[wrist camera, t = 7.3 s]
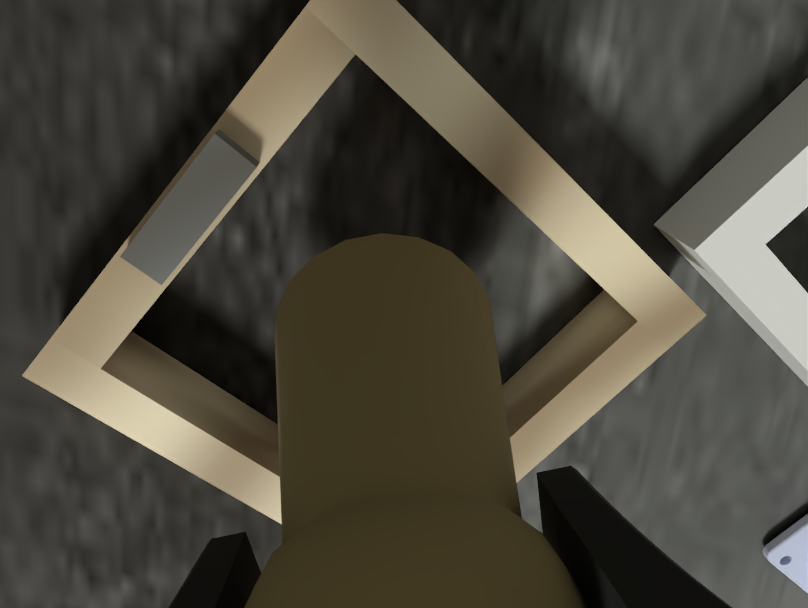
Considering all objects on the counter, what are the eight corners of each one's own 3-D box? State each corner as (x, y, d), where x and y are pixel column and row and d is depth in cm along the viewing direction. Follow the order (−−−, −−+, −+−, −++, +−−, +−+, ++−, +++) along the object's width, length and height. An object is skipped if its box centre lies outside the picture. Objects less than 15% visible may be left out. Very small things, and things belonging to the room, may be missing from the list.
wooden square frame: (666, 283, 21) (717, 323, 18) (390, 536, 24) (397, 604, 21) (346, -38, 16) (348, -53, 13) (59, 334, 19) (11, 387, 16)
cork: (353, 188, 15) (353, 574, 5) (537, 307, 17) (786, 748, 7) (233, 363, 17) (78, 872, 7) (410, 451, 19) (471, 945, 9)
